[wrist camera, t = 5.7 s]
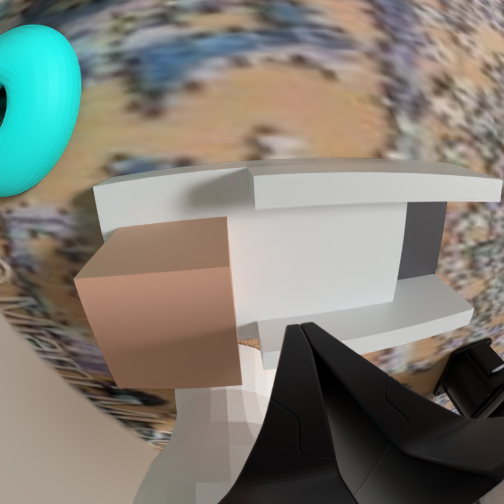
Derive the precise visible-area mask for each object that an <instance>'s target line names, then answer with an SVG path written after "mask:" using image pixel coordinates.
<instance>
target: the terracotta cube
mask: <svg viewBox="0 0 504 504" xmlns="http://www.w3.org/2000/svg"><path fill="white" fill-rule="evenodd" d="M74 282H75V285H76V288H77V291H78V294H79V297H80V300H81V303H82V306H83V308H84V311H85V314H86V316H87V319H88V322H89V324H90V327H91V329H92V332H93V334H94V336H95V339H96V341H97V344H98V346H99V348H100V350H101V353H102V355H103V357H104V359H105V362H106V364H107V366H108V368H109V370H110V372H111V374H112V376H113V378H114V380H115V382H116V384H117V386H118V388H132V389H186V388H209V387H225V386H237V385H242V375H241V365H240V354H239V343H238V332H237V321H236V310H235V300H234V290H233V279H232V269H231V258H230V247H229V236H228V224H227V216H224V217H213V218H202V219H192V220H182V221H172V222H162V223H153V224H144V225H135V226H127V227H119V228H118V229H117V230H116V231H115V232H114V233H113V235H112V236H111V237H110V238H109V239H108V240H107V241H106V242H105V243H104V244H103V245H102V247H101V248H100V249H99V250H98V251H97V252H96V253H95V254H94V255H93V257H92V258H91V259H90V260H89V261H88V262H87V263H86V265H85V266H84V267H83V268H82V269H81V270H80V272H79V273H78V274H77V275H76V276H75V278H74Z"/></svg>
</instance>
